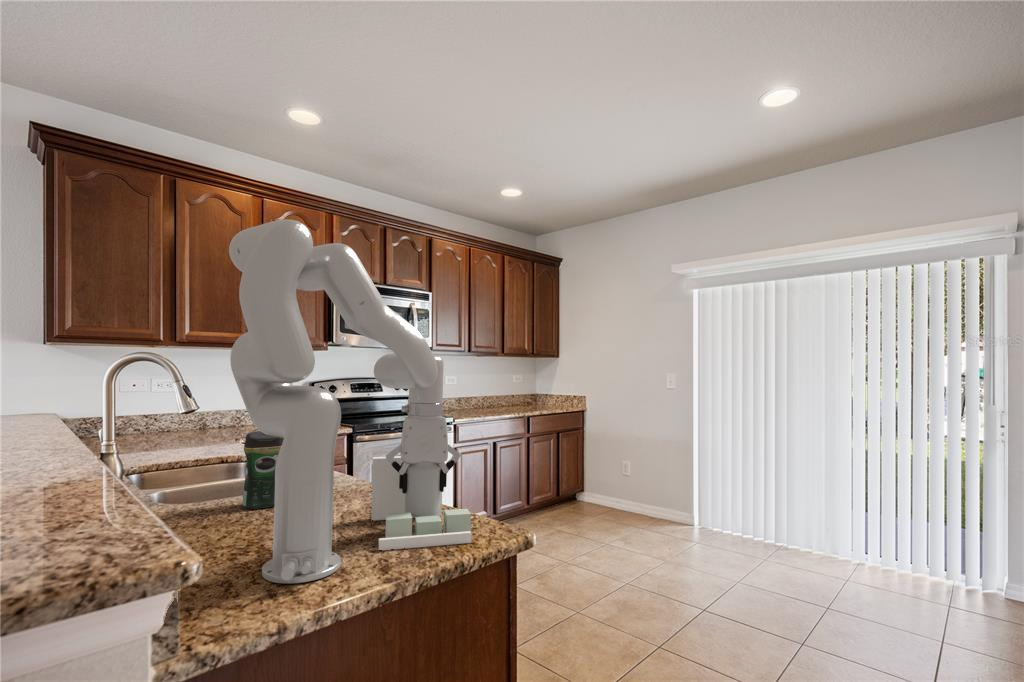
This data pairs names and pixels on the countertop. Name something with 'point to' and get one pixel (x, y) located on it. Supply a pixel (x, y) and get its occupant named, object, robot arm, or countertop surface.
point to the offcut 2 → (457, 520)
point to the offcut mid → (428, 525)
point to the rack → (402, 509)
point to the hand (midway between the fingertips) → (422, 490)
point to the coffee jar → (260, 469)
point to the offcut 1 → (398, 525)
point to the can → (422, 489)
